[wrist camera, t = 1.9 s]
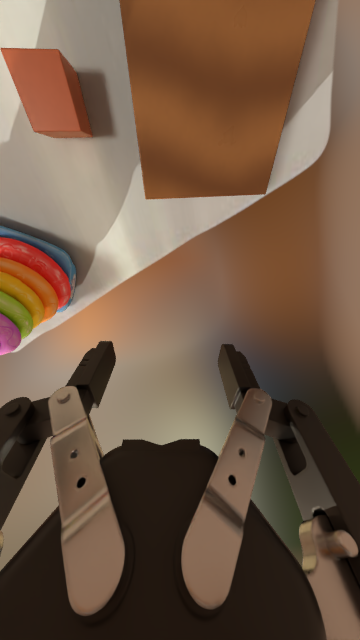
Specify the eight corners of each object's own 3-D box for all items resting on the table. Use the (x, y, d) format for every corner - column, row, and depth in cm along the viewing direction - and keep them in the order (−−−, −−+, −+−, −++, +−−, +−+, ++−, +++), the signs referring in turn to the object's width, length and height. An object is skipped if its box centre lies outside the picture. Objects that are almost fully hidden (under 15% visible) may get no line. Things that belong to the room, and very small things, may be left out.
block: (29, 71, 16) (-1, 47, 13) (76, 72, 17) (58, 48, 13) (53, 138, 19) (33, 131, 16) (93, 137, 20) (81, 131, 16)
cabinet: (119, -36, 14) (88, -235, 7) (267, -27, 15) (366, -193, 8) (147, 190, 23) (145, 199, 17) (234, 187, 24) (265, 194, 18)
